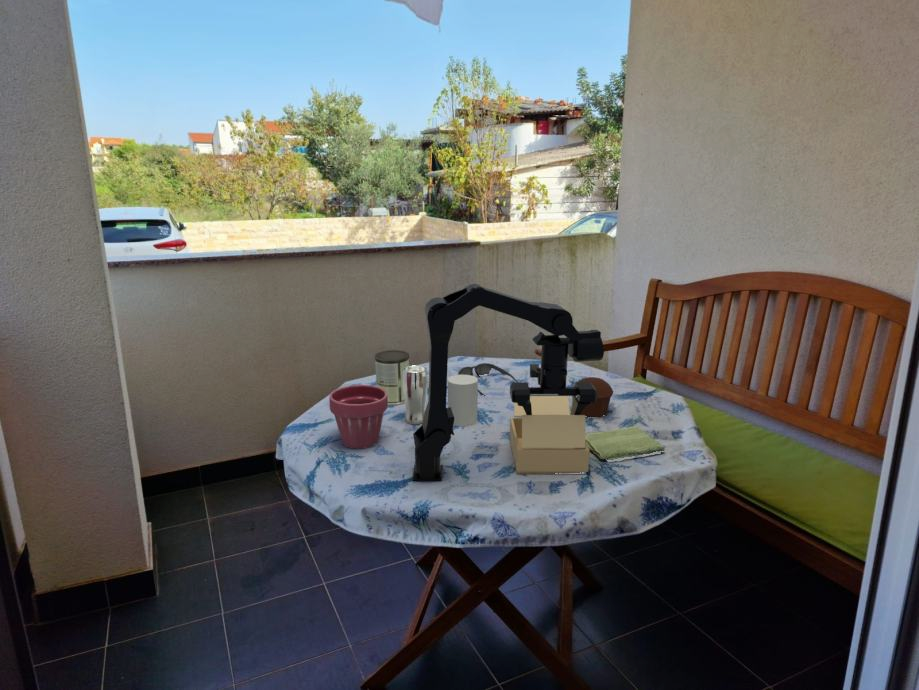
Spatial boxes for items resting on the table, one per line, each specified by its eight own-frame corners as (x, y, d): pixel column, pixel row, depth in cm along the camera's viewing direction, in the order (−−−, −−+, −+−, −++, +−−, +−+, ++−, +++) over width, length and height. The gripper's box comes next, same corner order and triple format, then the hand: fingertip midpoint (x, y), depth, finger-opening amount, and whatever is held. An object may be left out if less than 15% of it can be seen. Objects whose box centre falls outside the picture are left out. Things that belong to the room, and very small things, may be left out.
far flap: (567, 389, 143) (566, 390, 143) (513, 389, 143) (513, 390, 143) (570, 415, 139) (569, 416, 140) (514, 415, 139) (514, 416, 140)
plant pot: (398, 433, 145) (396, 388, 141) (372, 457, 132) (370, 407, 128) (350, 426, 149) (348, 381, 146) (321, 448, 137) (317, 399, 133)
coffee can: (379, 392, 174) (377, 349, 170) (411, 393, 173) (410, 350, 170) (373, 405, 164) (371, 359, 160) (408, 405, 163) (407, 360, 160)
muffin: (598, 402, 166) (600, 371, 163) (619, 416, 156) (622, 383, 153) (563, 407, 162) (564, 375, 160) (582, 422, 152) (585, 388, 149)
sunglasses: (491, 373, 192) (492, 360, 190) (522, 393, 180) (524, 379, 178) (451, 382, 183) (452, 369, 181) (481, 403, 171) (483, 389, 169)
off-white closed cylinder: (483, 420, 153) (483, 379, 150) (462, 429, 148) (462, 386, 144) (462, 412, 159) (462, 372, 155) (441, 420, 153) (441, 379, 150)
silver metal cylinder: (421, 427, 149) (420, 374, 145) (398, 423, 151) (397, 371, 147) (432, 417, 155) (431, 366, 151) (410, 413, 158) (408, 363, 153)
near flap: (521, 414, 123) (522, 415, 123) (584, 414, 123) (585, 415, 123) (521, 447, 123) (522, 447, 123) (584, 447, 123) (585, 447, 123)
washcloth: (576, 442, 141) (577, 430, 140) (637, 434, 146) (638, 423, 145) (602, 466, 129) (603, 454, 128) (668, 457, 133) (669, 445, 133)
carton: (587, 474, 124) (589, 450, 123) (516, 474, 124) (517, 450, 123) (572, 439, 142) (573, 417, 140) (509, 439, 142) (510, 417, 140)
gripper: (588, 350, 129) (583, 411, 134) (508, 351, 129) (506, 412, 134) (600, 366, 119) (594, 432, 123) (513, 367, 118) (511, 433, 123)
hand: (550, 426), depth 126 cm, fingers open, 9 cm apart
